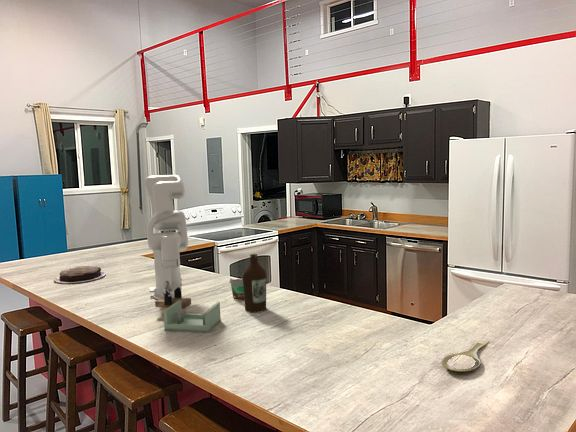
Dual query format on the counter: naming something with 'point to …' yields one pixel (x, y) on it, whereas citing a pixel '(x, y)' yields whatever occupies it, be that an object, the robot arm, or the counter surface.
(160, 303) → the board
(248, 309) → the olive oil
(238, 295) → the food container
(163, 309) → the tan rectangular bar
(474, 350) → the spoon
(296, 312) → the counter surface
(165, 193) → the robot arm
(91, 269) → the chocolate cake
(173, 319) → the frame
